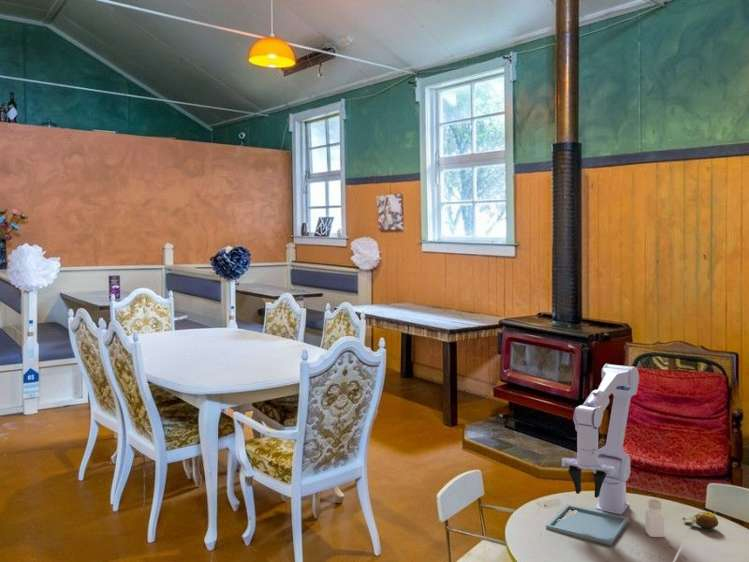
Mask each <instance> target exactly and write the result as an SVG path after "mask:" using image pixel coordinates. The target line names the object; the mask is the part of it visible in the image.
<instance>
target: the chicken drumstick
mask: <svg viewBox="0 0 749 562" xmlns="http://www.w3.org/2000/svg"><path fill="white" fill-rule="evenodd" d="M682 520H683V522H686V523H692V522H695V523H697V524H698V525H699V527H701V528H703V529H706V530H712V529H714V528H716V527H717V526H718V525H719V520H718V518H717V516H716V515H715V514H714V513H712V512H711V511H700V512H698V513H696V514H695V515H693V516H690V517H688V518H686V517H682Z"/></svg>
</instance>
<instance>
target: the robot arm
mask: <svg viewBox="0 0 749 562" xmlns="http://www.w3.org/2000/svg"><path fill="white" fill-rule="evenodd" d="M639 374H640V373H639V370H638V368H637V366H628V365H619V364H611V363H610V364H609V363H605V364H604V365H603V367H602V368H601V382H600V384H599V385H598V388H597V389H594V390H592V391H591V392H590V394H589V395H588V396H587V398H586V399H585V401H584V402H583V404H581V405H578V406H576V407H575V409H574V412H573V417H572V418H573V423H574V426H575V427H574V429H575V431H576V432H577V433H576V435H577V436H576V438H577V439H576V440H577V441H576V448H577V449H576V451H577V452H576V454H577V456H576V457H577V458H570V457H562V459H561V466H562V467H569V468H568V469H567V470H568V471H567V472H568V475H569V476H570V479H571V480H572V482H573V485H574V486H573V487H574V491H575V494H577V495H579V494H580V493H581V491H582V484H581V483H582V481H581V480H582V470H587V471H592V472H593V473H594V474H593V480H594V498H598V503H597V504H596V505H594V506H595V507H594V509H595V510H597V511H599V510H600V511H601V512H603V511H604V512H606V513H610V514H612V513H613V514H615V515H622V514H624V512H625V511H626V510H627V508H628V507H629V506H630V503H629V502H627V485H626V484H627V483H626V481H628V480H629V478H630V475H631V457H630V456H629V454H628V453H627V452H626V451H625V450H624V449H623V447H624V441H625V435H626V428H627V423H628V415H629V411H630V410H629V409H630V404H631V399H632V397H633V396H636V395H637V392H638V387H639V383H640V375H639ZM611 395H612V396H613V401H612V406H611V410H610V411H611V413H610V418H609V424H608V431H607V434H606V436H607V437H606V443H605V445H604V446H602V447H601V448H599V428H600V427H601V425H602V420H603V418H604V412H605V410H606V408H607V407H608V406H609V404H610V397H609V396H611Z"/></svg>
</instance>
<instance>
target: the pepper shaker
mask: <svg viewBox="0 0 749 562" xmlns="http://www.w3.org/2000/svg"><path fill="white" fill-rule="evenodd" d="M661 511H662V501H660V500H658V499H655V498H652V499H648V510H645V514H644V515H645V524H644V525H645V528H644V529H645V533H646V534H647V535H648V536H649V537H651V538H664V537H665V515H664V514H663V513H662V512H661Z"/></svg>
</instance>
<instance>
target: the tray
mask: <svg viewBox="0 0 749 562" xmlns="http://www.w3.org/2000/svg"><path fill="white" fill-rule="evenodd" d="M572 509H573V510H577V511H578V512H577V513H576V514H575V515H569V516H568V517H567V519H566V518H565V519H561V520H558V519H559V518H561V517H563V516H564V515H565V514H566V512H567V511H568V510H572ZM557 520H558V521H559V522H558V521H557ZM628 524H629V517H626V516H623V515H622V516H621V515H618V514H614V513H613V514H612V513H609V512H605V511H604V512H603V511H599V510H596V509H595V510H594V509H590V508H586V507H585V508H584V507H582V506H581V507H580V506H577V505H576V506H575V505H571V504H566V505H565V506H564V507H563V508H562V509H561V510H560V511H559V512H558V513H557V514H556V515H555V516H554V517H552V519H551V520H550V521H549V522H548V523H546V524H545V529H546V530H549V529H550V530H549V531H554V532H557V533H560V534H563V535H567V536H571V537H574V538H577V539H581V540H585V541H588V542H591V543H593V544H594V543H595V544H597V545H598V544H599V545H603V546H606V547H612V546H613V545H614V543H615V542H617V540H618V538H619V537H620V535H622V533H623V532H624V530H625V528H626V527H627V526H628Z"/></svg>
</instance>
